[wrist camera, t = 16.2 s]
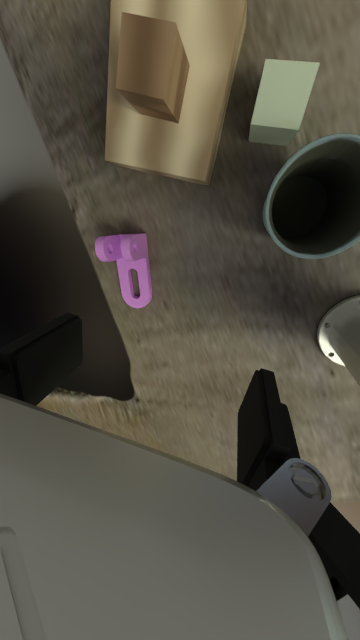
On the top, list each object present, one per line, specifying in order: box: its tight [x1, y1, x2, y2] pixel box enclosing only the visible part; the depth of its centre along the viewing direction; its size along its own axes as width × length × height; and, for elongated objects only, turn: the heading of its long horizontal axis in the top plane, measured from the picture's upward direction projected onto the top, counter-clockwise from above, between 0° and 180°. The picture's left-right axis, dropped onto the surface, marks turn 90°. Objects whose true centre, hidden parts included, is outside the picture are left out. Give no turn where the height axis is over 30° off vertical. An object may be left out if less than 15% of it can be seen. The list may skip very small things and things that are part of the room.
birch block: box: [105, 0, 247, 186], centre depth 28 cm, size 14×16×5 cm
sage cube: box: [248, 59, 320, 146], centre depth 25 cm, size 5×5×6 cm
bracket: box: [95, 233, 152, 308], centre depth 37 cm, size 13×6×7 cm, turn 4°
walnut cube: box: [116, 12, 190, 123], centre depth 23 cm, size 5×5×6 cm
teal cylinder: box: [262, 133, 360, 259], centre depth 25 cm, size 10×10×12 cm
